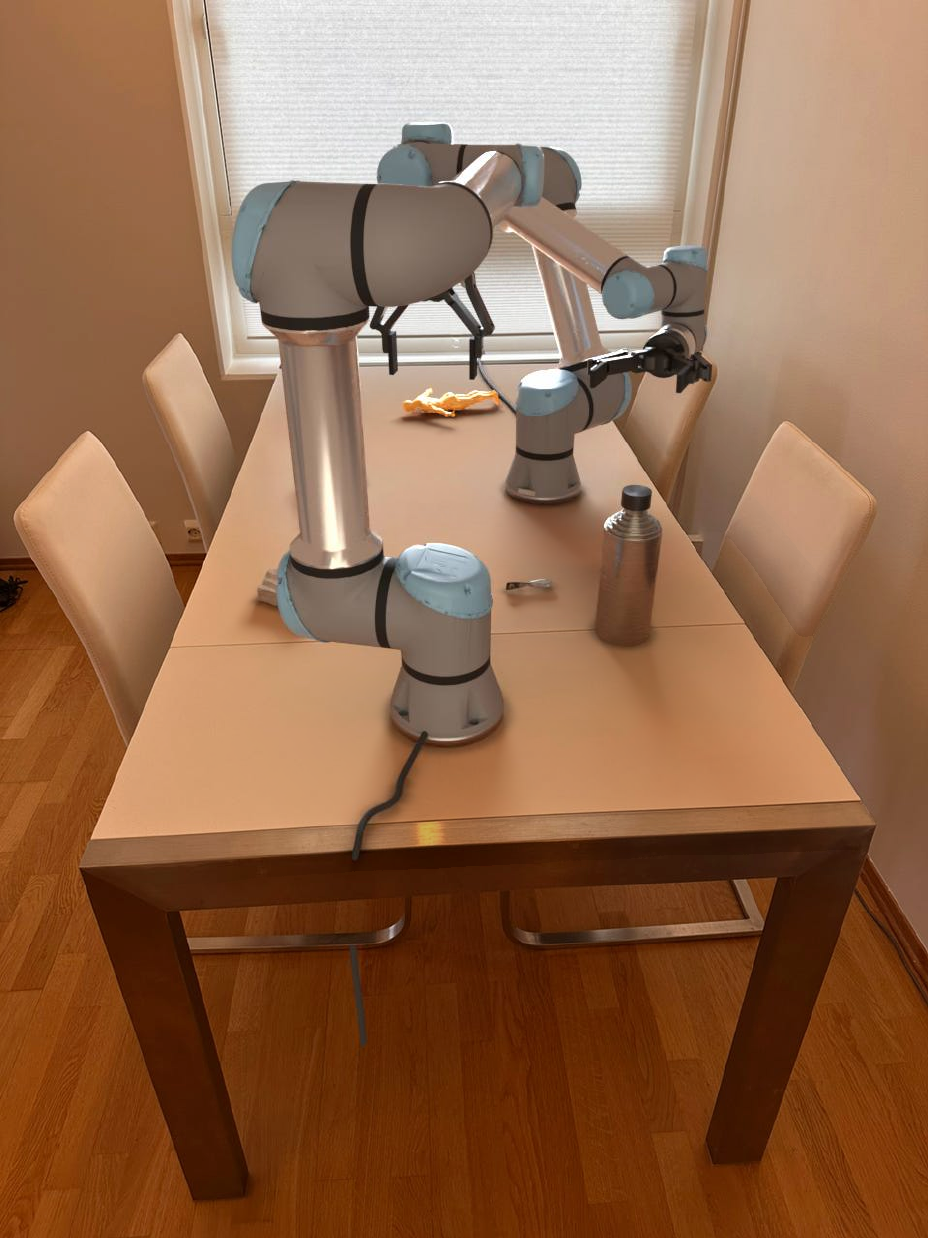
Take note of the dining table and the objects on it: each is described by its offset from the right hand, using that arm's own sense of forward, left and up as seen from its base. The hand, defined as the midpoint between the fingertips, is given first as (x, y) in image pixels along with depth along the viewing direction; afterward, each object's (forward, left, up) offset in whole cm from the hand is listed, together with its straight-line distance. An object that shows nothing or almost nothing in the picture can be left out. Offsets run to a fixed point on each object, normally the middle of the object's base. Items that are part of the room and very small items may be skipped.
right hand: (634, 381), depth 137 cm
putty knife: (+4, -16, -33) cm, 37 cm away
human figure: (-87, -17, -33) cm, 95 cm away
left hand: (-16, -29, -2) cm, 33 cm away
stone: (+2, -55, -33) cm, 64 cm away
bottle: (+19, -5, -33) cm, 38 cm away
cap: (+19, -5, -10) cm, 22 cm away
